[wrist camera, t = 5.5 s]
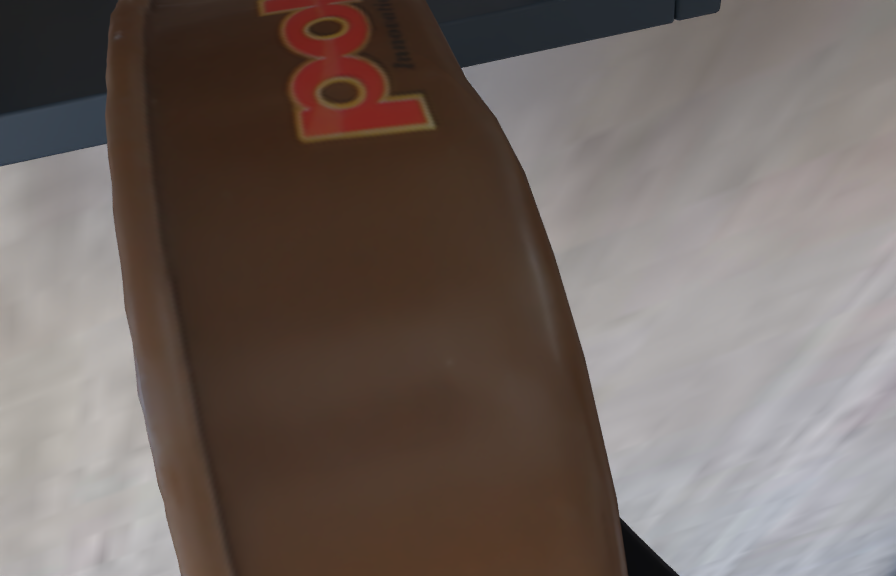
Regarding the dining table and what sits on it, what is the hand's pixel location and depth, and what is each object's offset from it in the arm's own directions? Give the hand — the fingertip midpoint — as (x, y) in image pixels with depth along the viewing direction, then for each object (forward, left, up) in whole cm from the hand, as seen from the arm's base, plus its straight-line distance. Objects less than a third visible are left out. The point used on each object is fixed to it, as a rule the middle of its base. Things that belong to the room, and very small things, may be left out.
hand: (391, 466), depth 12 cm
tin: (0, 0, -3) cm, 3 cm away
